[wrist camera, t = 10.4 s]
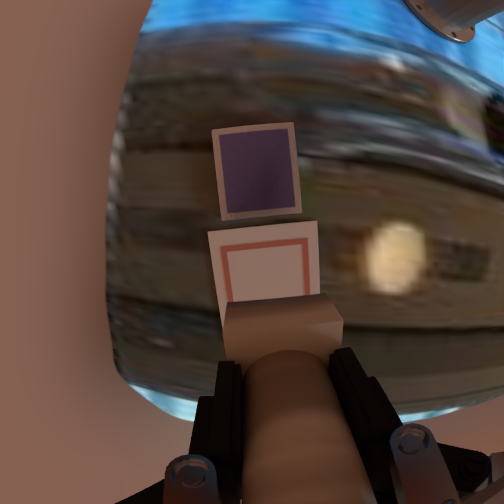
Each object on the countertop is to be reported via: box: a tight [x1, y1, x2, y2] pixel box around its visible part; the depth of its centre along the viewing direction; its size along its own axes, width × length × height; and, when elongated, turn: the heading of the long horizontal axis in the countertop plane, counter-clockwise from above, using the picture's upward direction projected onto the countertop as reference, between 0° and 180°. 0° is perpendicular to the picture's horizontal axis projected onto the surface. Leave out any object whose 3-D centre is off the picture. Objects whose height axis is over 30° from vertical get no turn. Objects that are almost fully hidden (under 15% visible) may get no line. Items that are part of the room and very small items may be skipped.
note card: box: [208, 221, 320, 327], centre depth 27 cm, size 12×10×1 cm
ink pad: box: [212, 122, 302, 221], centre depth 24 cm, size 8×7×2 cm
